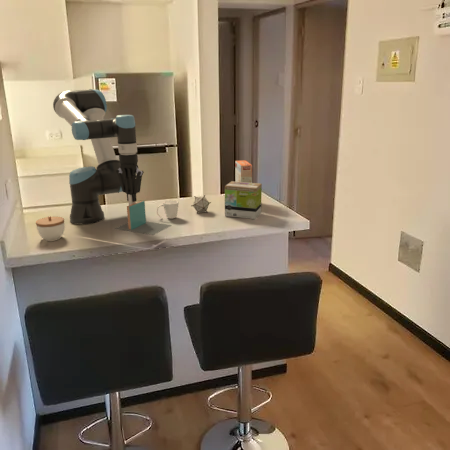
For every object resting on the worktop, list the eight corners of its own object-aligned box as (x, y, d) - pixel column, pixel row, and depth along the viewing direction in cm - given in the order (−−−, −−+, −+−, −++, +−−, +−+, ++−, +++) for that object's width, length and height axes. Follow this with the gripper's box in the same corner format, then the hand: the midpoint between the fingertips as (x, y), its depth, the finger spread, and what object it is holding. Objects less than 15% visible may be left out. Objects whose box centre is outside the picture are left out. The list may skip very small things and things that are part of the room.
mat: (114, 229, 201) (114, 228, 201) (134, 220, 213) (134, 219, 212) (153, 236, 192) (153, 235, 192) (171, 226, 204) (171, 225, 204)
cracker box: (252, 207, 231) (252, 164, 225) (240, 207, 230) (240, 165, 224) (246, 199, 245) (246, 159, 238) (235, 200, 244) (234, 160, 237)
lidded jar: (32, 240, 190) (29, 217, 187) (55, 232, 199) (52, 211, 196) (49, 245, 184) (46, 222, 181) (71, 237, 193) (69, 215, 190)
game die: (204, 220, 224) (208, 207, 216) (187, 214, 224) (190, 200, 216) (210, 207, 229) (214, 194, 221) (194, 201, 230) (197, 187, 222)
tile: (128, 229, 200) (126, 206, 197) (142, 222, 208) (141, 200, 205) (132, 229, 199) (130, 206, 196) (146, 223, 207) (144, 201, 204)
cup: (180, 221, 211) (179, 203, 209) (157, 222, 210) (156, 205, 207) (178, 216, 218) (177, 199, 216) (156, 218, 216) (155, 201, 214)
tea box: (224, 217, 217) (223, 185, 212) (231, 211, 226) (230, 180, 221) (256, 219, 212) (256, 187, 207) (261, 213, 221) (262, 182, 216)
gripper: (109, 154, 194) (114, 209, 201) (135, 155, 189) (139, 212, 196) (121, 151, 201) (125, 205, 208) (146, 153, 195) (150, 208, 202)
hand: (132, 208), depth 202 cm, fingers closed
